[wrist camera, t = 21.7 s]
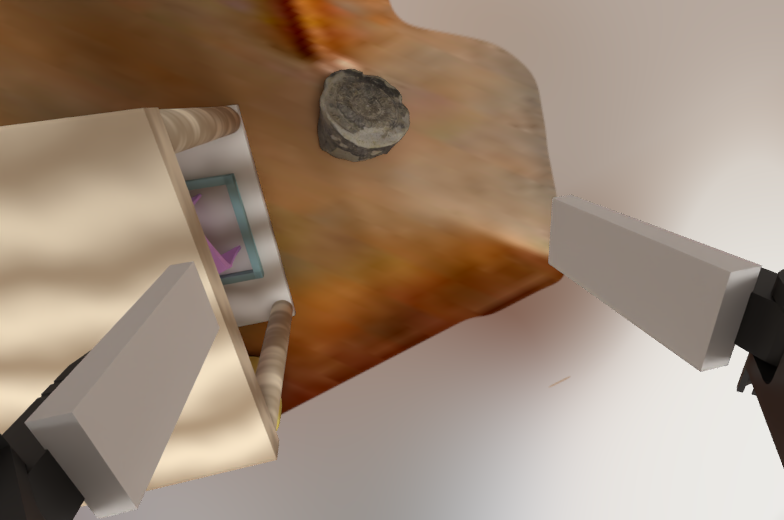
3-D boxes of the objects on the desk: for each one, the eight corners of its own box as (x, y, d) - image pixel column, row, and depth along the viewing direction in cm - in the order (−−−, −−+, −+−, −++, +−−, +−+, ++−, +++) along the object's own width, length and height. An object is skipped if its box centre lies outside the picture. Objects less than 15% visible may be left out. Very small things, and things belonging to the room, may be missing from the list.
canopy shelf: (73, 126, 41) (-237, 157, 18) (238, 104, 43) (143, 107, 20) (171, 336, 53) (58, 512, 30) (295, 312, 55) (276, 459, 32)
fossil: (401, 63, 43) (423, 107, 37) (396, 132, 51) (414, 177, 45) (309, 66, 42) (316, 113, 36) (318, 137, 49) (325, 186, 43)
